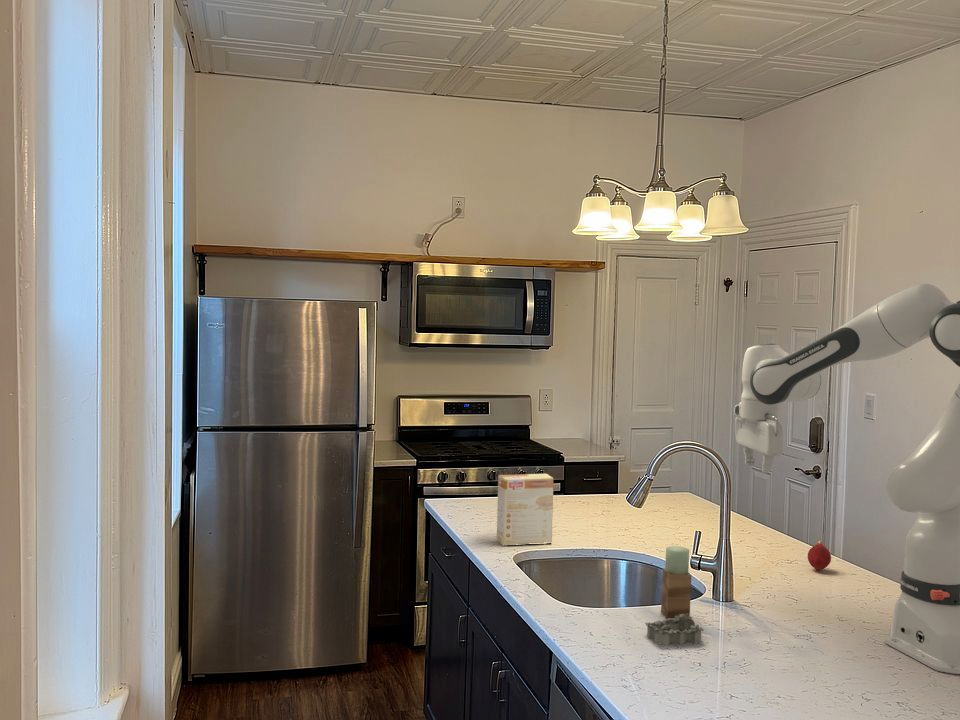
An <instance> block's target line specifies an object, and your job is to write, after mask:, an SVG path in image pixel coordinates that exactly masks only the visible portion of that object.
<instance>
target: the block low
mask: <svg viewBox="0 0 960 720" xmlns="http://www.w3.org/2000/svg"><path fill="white" fill-rule="evenodd" d="M691 598H692V597H691ZM691 598H681V597H667V595H666V594H665V593H664V592H663V591H662V590H661V606H660V613H661V614H662V615H663V617H664V618H665V620H667V619H668V618H675V616H676V615H679V614H687V613H689V614H688V615H689V616H690V617H691Z"/></svg>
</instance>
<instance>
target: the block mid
mask: <svg viewBox="0 0 960 720" xmlns="http://www.w3.org/2000/svg"><path fill="white" fill-rule="evenodd" d="M661 580H662V581H661V592H662V591H663V592H664V593H665V594H666V595H667V597H681V598H692V597H691V596H692V595H691V594H692V593H691V592H692V574H691V573H690V572H689V571H688V574H685V575H674V574H670V573H667V572H666V571H665V567H663V568H662V579H661Z"/></svg>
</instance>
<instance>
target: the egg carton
mask: <svg viewBox="0 0 960 720" xmlns="http://www.w3.org/2000/svg"><path fill="white" fill-rule="evenodd" d="M688 614H689V613H687V614H679V615H676V616H675V618H668V619H665V620H664V619H662V620H656V621H654V622H650V621H649V622H645V626H646V627H647V629H646V630H647V632H646V633H647V634H646V637H648V638H653V639H654V643H655V644H656V645H657V644H659V645H660V644H661V645H664V646H670V643H675V644H679V645H684V644H685V642H692V643H693V644H697V643H699V642H700V641H701V639H702V632H704V631H705V630H704V629H703V627H700V626H699V624H696V623H695V620H694V619H693V618H692V617H691V615H690V616H689V615H688ZM695 624H696V625H695Z"/></svg>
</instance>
